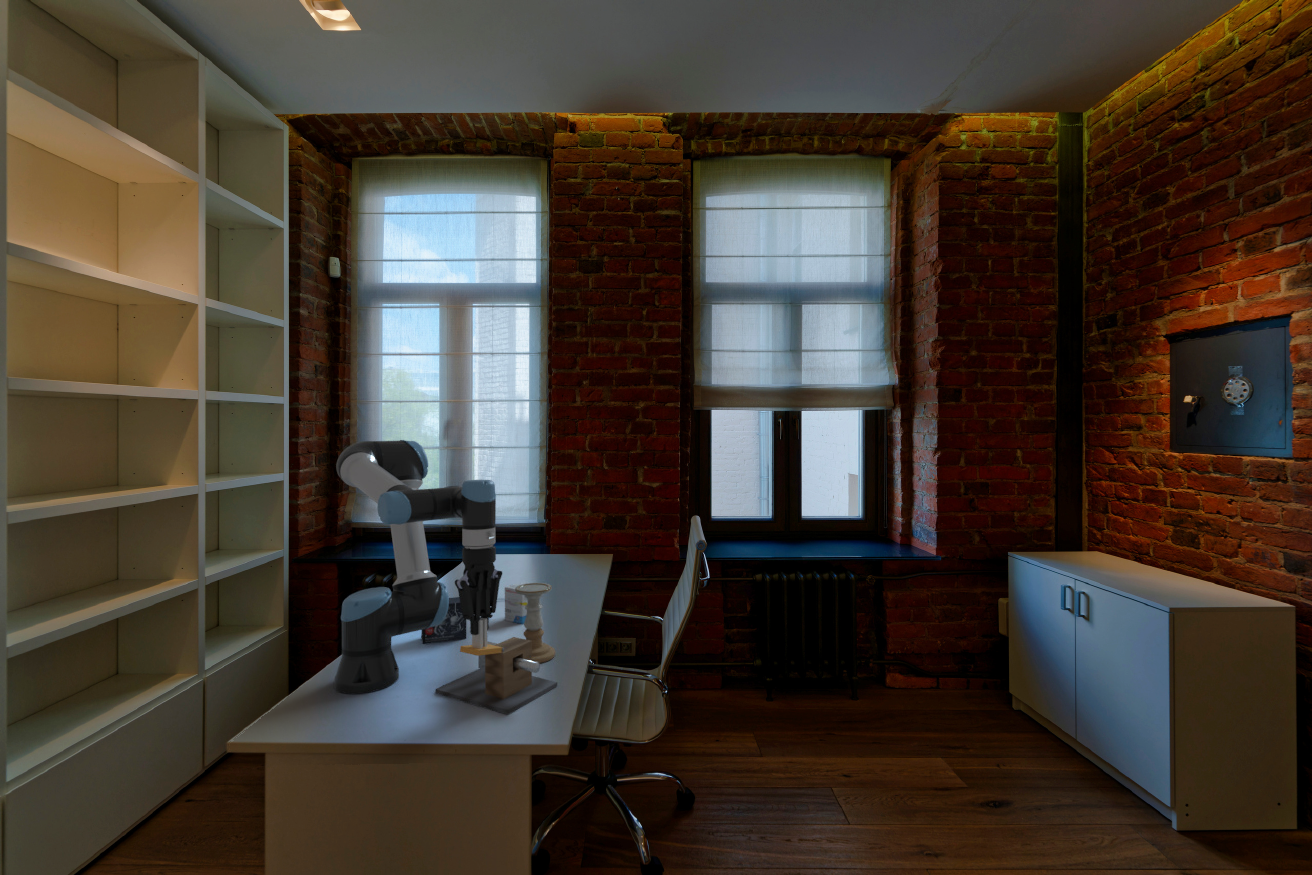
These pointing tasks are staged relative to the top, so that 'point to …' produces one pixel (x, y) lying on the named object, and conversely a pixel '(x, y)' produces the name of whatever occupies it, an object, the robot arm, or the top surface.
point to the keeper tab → (481, 650)
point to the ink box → (515, 605)
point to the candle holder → (535, 620)
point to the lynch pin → (517, 663)
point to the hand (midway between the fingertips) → (479, 646)
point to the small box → (447, 626)
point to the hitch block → (500, 681)
